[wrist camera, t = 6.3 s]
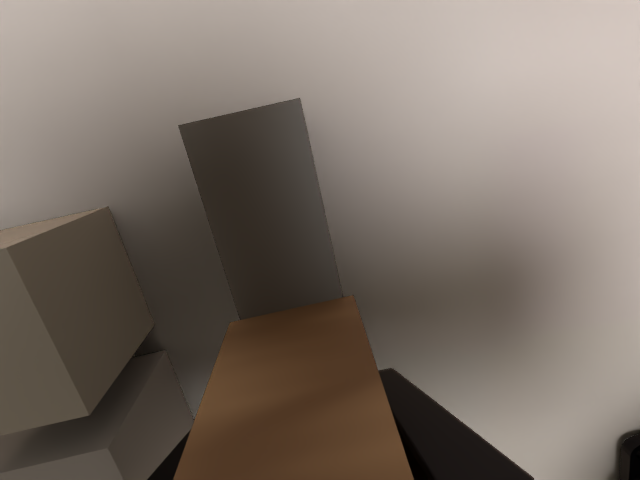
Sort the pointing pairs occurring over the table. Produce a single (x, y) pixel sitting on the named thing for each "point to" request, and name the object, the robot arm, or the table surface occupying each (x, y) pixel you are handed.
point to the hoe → (282, 319)
